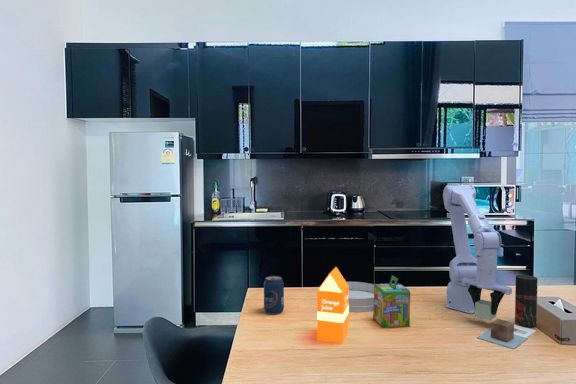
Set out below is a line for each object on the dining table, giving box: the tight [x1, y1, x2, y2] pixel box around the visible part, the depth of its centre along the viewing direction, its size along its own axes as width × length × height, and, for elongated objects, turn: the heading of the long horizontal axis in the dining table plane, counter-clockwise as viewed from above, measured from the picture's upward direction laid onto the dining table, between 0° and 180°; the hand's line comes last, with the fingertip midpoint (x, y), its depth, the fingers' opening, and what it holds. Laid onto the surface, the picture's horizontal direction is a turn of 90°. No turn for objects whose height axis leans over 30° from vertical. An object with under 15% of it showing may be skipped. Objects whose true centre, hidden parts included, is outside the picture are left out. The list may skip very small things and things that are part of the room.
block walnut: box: [490, 318, 515, 342], centre depth 118 cm, size 4×4×4 cm
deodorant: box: [514, 274, 539, 329], centre depth 129 cm, size 6×6×15 cm
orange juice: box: [316, 266, 350, 344], centre depth 120 cm, size 8×9×20 cm
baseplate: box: [477, 328, 528, 350], centre depth 118 cm, size 10×10×1 cm
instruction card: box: [514, 324, 537, 338], centre depth 123 cm, size 7×9×1 cm
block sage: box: [474, 298, 497, 321], centre depth 129 cm, size 4×4×4 cm
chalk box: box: [372, 275, 411, 329], centre depth 131 cm, size 9×9×15 cm
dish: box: [346, 281, 374, 313], centre depth 152 cm, size 22×22×5 cm
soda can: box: [263, 275, 285, 316], centre depth 142 cm, size 7×7×12 cm
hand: (485, 311), depth 129 cm, fingers closed on block sage, 4 cm apart
